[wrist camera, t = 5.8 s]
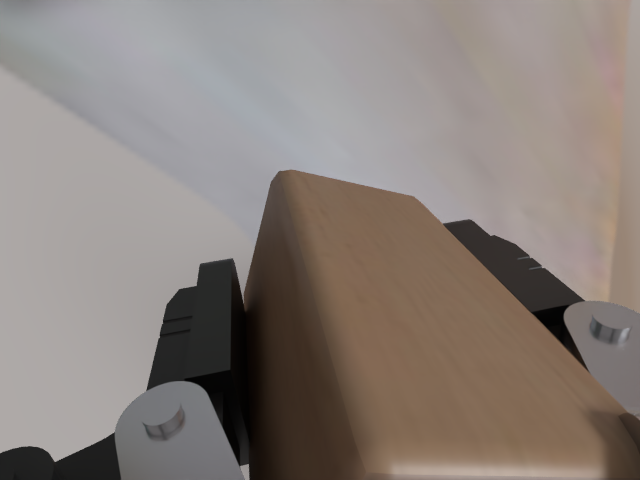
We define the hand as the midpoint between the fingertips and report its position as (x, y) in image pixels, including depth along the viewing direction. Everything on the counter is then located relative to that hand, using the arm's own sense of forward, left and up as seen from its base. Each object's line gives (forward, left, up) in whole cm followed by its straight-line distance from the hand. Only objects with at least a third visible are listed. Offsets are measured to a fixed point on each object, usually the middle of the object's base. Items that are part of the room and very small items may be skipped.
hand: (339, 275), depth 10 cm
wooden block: (0, 0, -2) cm, 2 cm away
